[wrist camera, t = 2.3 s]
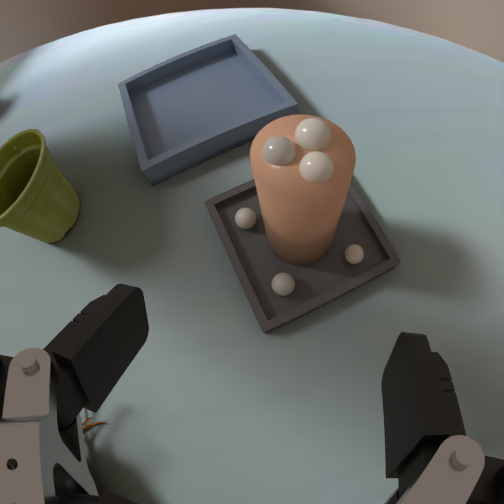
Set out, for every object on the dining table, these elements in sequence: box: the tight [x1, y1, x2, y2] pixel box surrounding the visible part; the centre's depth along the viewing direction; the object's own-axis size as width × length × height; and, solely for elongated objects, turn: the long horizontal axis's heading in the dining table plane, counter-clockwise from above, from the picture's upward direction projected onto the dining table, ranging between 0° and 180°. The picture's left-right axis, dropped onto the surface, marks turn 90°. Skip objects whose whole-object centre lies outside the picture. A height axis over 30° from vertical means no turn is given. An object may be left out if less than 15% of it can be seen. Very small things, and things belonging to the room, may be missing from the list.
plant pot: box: [0, 129, 80, 243], centre depth 24 cm, size 9×9×9 cm
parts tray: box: [205, 179, 401, 333], centre depth 23 cm, size 11×11×2 cm
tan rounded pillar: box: [250, 114, 356, 265], centre depth 19 cm, size 5×5×11 cm
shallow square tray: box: [118, 34, 298, 186], centre depth 29 cm, size 15×15×2 cm
